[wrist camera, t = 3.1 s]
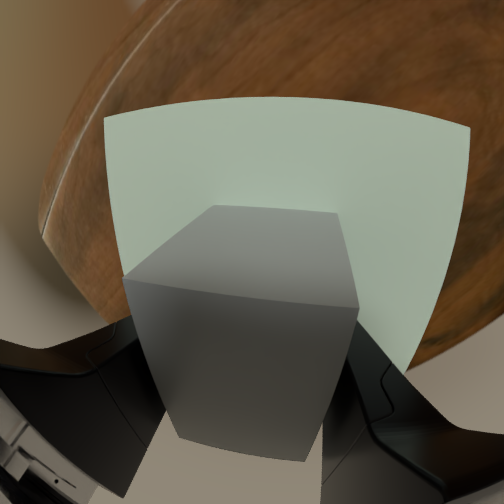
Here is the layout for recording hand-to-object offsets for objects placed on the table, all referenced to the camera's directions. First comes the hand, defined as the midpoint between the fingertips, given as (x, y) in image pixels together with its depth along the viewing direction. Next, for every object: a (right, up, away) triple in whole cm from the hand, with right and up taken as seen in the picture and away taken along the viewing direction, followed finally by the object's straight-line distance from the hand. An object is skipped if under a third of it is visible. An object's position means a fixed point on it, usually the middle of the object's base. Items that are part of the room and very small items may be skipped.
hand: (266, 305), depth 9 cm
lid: (0, +1, +2) cm, 2 cm away
